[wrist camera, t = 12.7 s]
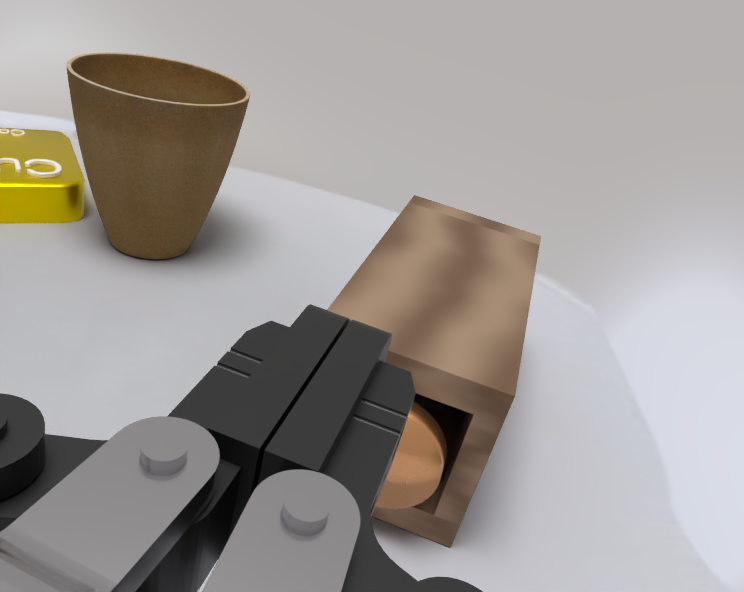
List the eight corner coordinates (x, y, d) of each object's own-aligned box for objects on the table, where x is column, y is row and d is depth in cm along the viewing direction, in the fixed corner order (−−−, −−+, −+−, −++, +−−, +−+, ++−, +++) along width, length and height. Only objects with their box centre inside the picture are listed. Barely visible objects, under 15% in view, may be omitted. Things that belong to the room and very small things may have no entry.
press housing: (281, 480, 41) (316, 324, 36) (382, 311, 62) (414, 195, 56) (450, 547, 40) (514, 396, 34) (495, 351, 61) (540, 236, 55)
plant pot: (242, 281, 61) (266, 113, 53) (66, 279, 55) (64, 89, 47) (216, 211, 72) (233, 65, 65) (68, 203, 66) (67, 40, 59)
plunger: (310, 481, 39) (333, 389, 35) (396, 320, 56) (417, 249, 53) (422, 526, 38) (457, 436, 34) (474, 348, 55) (500, 277, 52)
